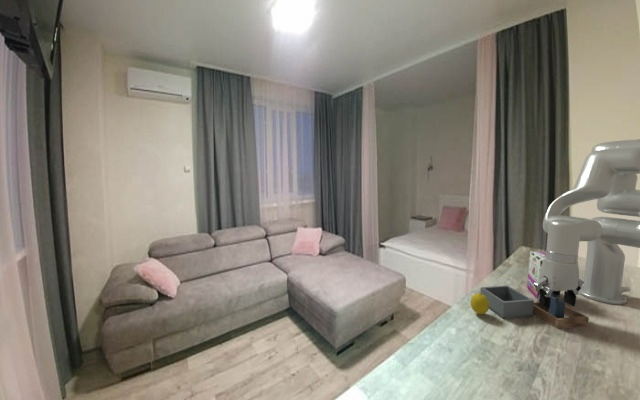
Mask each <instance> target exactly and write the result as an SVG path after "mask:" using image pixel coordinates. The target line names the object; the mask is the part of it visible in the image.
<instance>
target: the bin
mask: <svg viewBox="0 0 640 400" xmlns="http://www.w3.org/2000/svg"><path fill="white" fill-rule="evenodd" d="M479 292H480V293H481V294H482V295H484V296H485V297H486V298H487V299H488V302H489V309H488V310H490V311H492V312H493V313H495V314H496V315H497V316H498V317H500V318H501V319H503V320H505V319H520V318H530V317H533V316H534V314H533V306H534V302H535V300H534V299H532V298H531V297H529V296H527V295H525V294H524V293H522V292H520V291H518V290H516V289H515V288H513V287H511V286H509V285H506V284H505V285H494V286H481V287H480V291H479Z"/></svg>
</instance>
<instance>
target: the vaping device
mask: <svg viewBox="0 0 640 400" xmlns="http://www.w3.org/2000/svg"><path fill="white" fill-rule="evenodd" d="M550 297H551V302H550V308H549V310H548V313H550V314H551V315H553V316H555V317H556V318H565V315H564V313H565V305H566V303H565V301H564V296H561V291H553V292H552V293H551V295H550Z"/></svg>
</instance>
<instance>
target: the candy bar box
mask: <svg viewBox="0 0 640 400" xmlns="http://www.w3.org/2000/svg"><path fill="white" fill-rule="evenodd" d="M544 259H546V252H543V251H532V250H530V251H529V262H528V271H527V272H528V275H527V282H526V283H527V286H526V288H527V289H528V291H529V292H531V294H532V295H533V296H534V297H535V298H536V300H537V301H539V299H540V294H539V293H538V291H537V290H536V288H535V286H534V283H535V282H537V281H538V280H539V273H540V268H541V265H542V262H543V260H544ZM547 287H549V286H547ZM547 291H548V289H545V292H547ZM549 297H550V296H549Z"/></svg>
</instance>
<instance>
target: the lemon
mask: <svg viewBox="0 0 640 400" xmlns="http://www.w3.org/2000/svg"><path fill="white" fill-rule="evenodd" d="M470 307H471V309H472V311H474V312H475V314H478V315H479V316H481V315H484V314H486V313H488V311H489V310H490V309H489V302H488V299H487V298H486V297H485V296H484V295H482V294H481V293H475V294H473V295H472V296H471V298H470Z"/></svg>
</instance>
